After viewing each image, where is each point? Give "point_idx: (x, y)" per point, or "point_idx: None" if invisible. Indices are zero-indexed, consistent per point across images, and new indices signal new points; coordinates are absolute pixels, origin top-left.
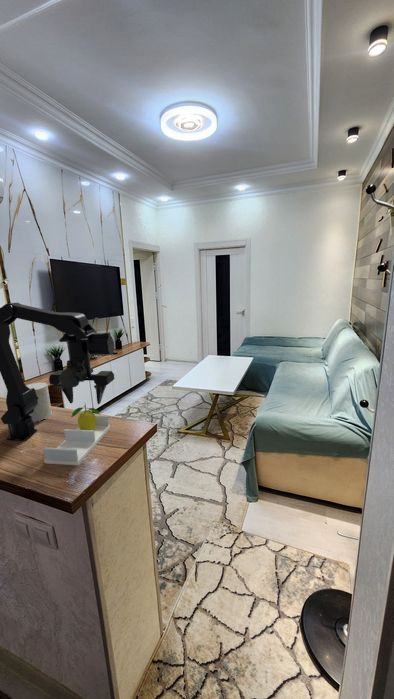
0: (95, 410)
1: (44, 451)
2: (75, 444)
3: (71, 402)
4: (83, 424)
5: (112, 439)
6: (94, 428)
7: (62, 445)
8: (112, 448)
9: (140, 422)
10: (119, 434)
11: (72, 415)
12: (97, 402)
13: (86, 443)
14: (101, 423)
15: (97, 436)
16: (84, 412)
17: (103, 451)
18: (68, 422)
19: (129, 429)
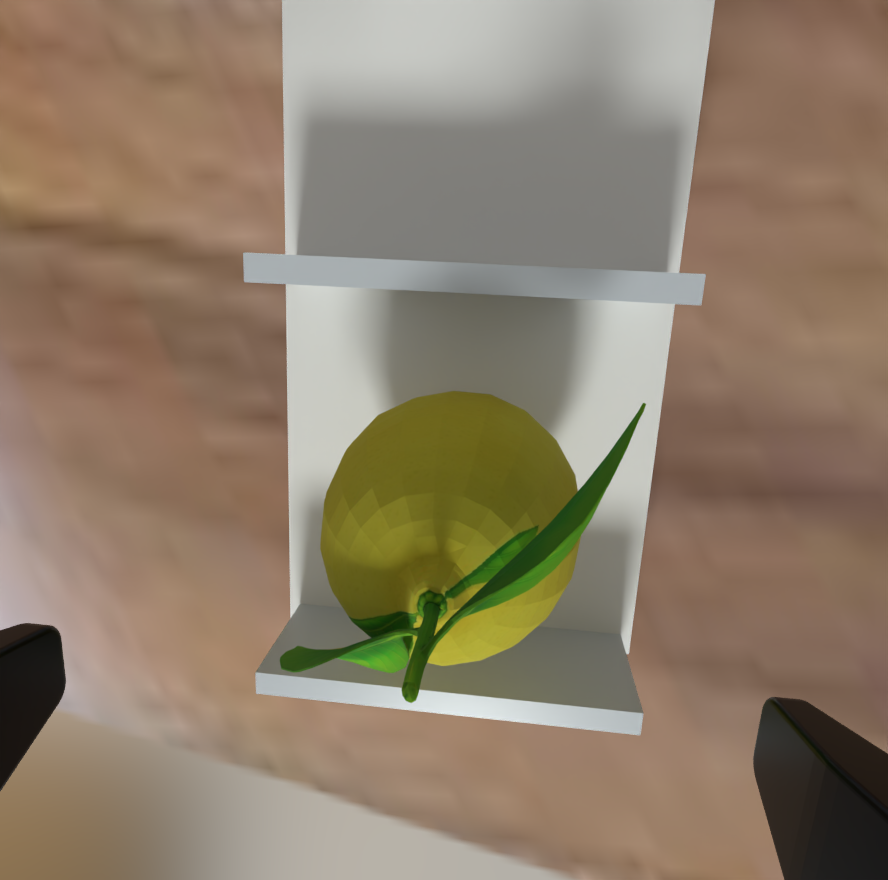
0: (308, 657)
1: None
2: (498, 191)
3: (769, 718)
4: (445, 398)
5: (174, 377)
6: None
7: (653, 156)
8: (93, 201)
9: None
10: (147, 475)
11: (626, 429)
12: (17, 642)
13: (373, 218)
14: None
15: (318, 379)
16: (444, 555)
17: (157, 135)
18: None
19: (92, 571)
